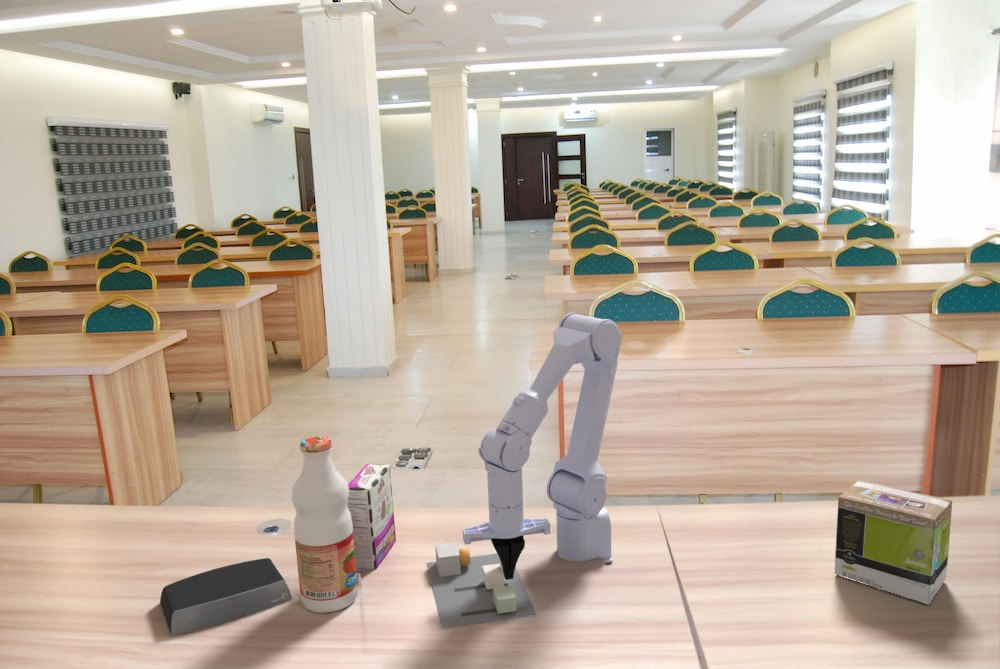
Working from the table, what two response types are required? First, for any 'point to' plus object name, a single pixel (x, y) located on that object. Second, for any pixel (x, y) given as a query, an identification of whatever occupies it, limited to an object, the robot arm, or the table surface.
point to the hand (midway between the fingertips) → (508, 576)
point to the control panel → (470, 589)
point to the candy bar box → (372, 515)
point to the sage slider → (504, 599)
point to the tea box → (893, 539)
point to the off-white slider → (493, 576)
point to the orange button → (464, 556)
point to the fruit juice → (323, 531)
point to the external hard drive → (222, 595)
